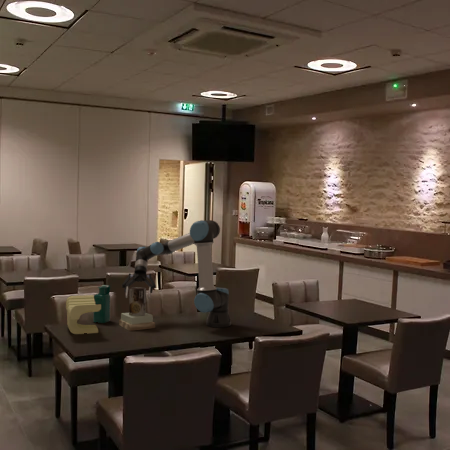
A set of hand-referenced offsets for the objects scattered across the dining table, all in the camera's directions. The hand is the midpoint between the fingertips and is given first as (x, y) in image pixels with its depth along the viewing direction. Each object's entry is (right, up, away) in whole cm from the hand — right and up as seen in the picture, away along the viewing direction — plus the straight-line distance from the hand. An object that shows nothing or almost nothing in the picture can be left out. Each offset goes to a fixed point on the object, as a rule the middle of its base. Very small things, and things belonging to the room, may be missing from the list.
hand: (137, 296), depth 328 cm
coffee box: (0, -11, 0) cm, 11 cm away
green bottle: (-24, -17, +11) cm, 31 cm away
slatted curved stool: (-29, -18, -14) cm, 37 cm away
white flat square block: (-1, -14, 0) cm, 15 cm away
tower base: (-1, -18, 0) cm, 18 cm away
